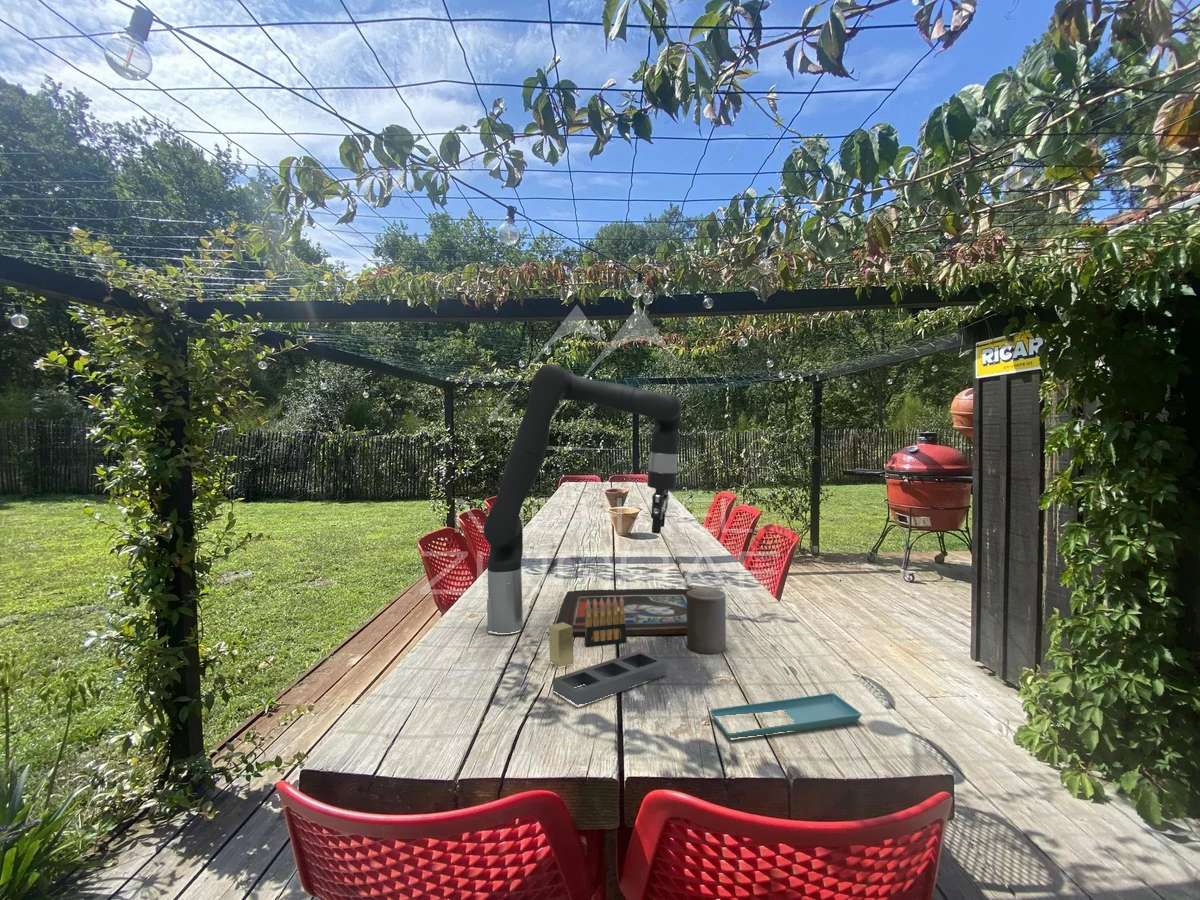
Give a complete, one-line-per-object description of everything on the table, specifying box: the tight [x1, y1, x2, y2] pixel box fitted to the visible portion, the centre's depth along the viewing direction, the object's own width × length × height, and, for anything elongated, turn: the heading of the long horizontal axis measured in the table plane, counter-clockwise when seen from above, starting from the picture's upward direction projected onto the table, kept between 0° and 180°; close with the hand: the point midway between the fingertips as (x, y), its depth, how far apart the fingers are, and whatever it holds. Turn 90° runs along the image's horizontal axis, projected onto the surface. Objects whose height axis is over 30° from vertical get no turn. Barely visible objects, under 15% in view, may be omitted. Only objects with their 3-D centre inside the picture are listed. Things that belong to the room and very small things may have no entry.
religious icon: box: [555, 587, 697, 638], centre depth 174 cm, size 40×45×3 cm
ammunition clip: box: [584, 596, 628, 648], centre depth 150 cm, size 11×2×12 cm, turn 103°
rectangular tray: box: [709, 692, 863, 739], centre depth 108 cm, size 26×9×2 cm, turn 101°
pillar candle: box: [686, 587, 727, 655], centre depth 146 cm, size 10×10×15 cm
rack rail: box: [552, 650, 667, 705], centre depth 126 cm, size 24×9×3 cm, turn 127°
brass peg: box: [548, 622, 574, 667], centre depth 138 cm, size 4×4×9 cm
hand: (658, 529), depth 156 cm, fingers open, 8 cm apart
